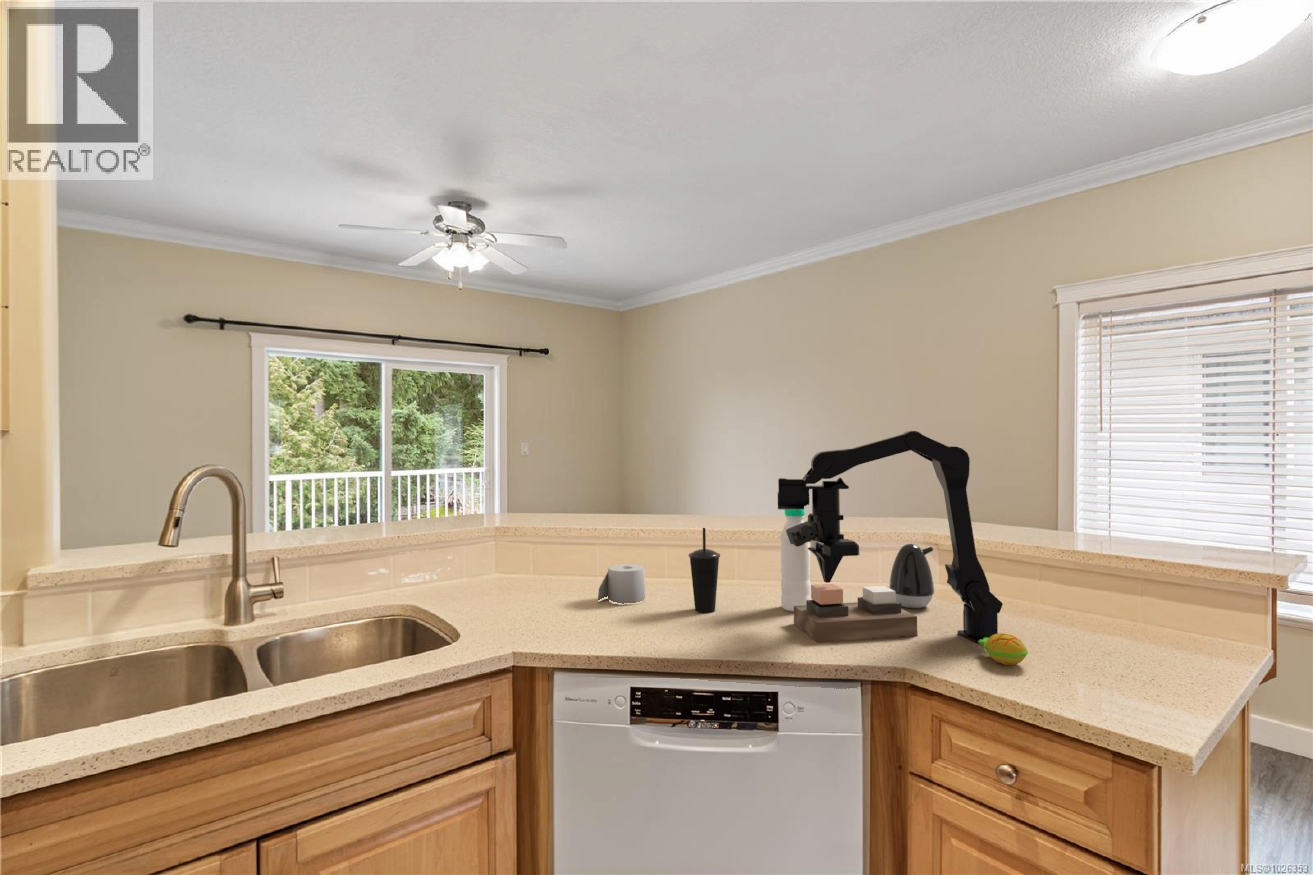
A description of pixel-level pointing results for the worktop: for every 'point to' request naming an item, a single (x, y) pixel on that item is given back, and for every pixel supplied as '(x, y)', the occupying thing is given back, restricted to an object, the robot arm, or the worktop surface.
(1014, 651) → the maraca
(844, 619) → the console
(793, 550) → the water bottle
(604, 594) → the toilet tissue
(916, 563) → the pump dispenser
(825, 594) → the terracotta key
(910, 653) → the worktop surface
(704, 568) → the drinking cup
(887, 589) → the white key
